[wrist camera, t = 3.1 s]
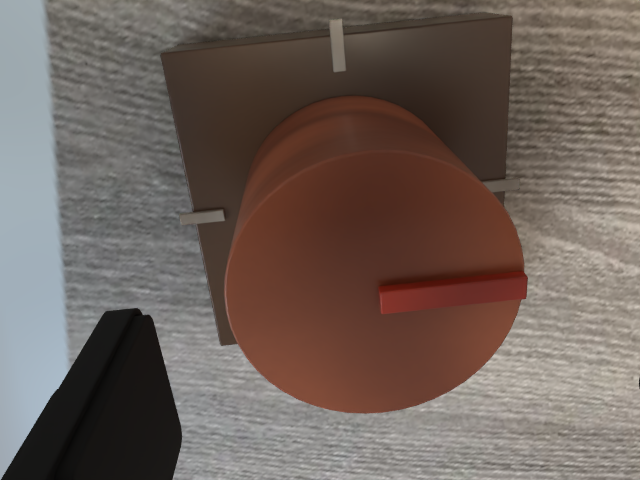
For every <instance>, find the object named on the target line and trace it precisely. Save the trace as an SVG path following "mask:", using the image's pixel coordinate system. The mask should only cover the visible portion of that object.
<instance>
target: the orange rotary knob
mask: <svg viewBox="0 0 640 480" xmlns="http://www.w3.org/2000/svg"><path fill="white" fill-rule="evenodd" d="M527 281H528V277H527V276H526V274H525V273H524V259H523V253H522V246H521V243H520V240H519V237H518V234H517V230H516V228H515V226H514V224H513V222H512V220H511V218H510V216H509V214H508V212H507V211H506V209H505V208H504V207H503V205H502V204H501V203H500V201H499V200H498V198H497V197H496V196H495V195H494V194H493V193H492V192H491V191H490V190H489V189H488V188H487V187H486V186H485V185H484V184H483V183H482V182H481V181H480V180H479V179H478V178H477V177H476V176H475V175H474V174H473V173H472V172H471V171H470V169H469V168H468V167H467V166H466V165H465V164H464V163H463V162H462V161H461V160H460V159H459V158H458V157H457V156H456V155H455V154H454V153H453V152H452V151H451V150H450V149H449V148H448V147H447V146H446V145H445V144H444V143H443V142H442V141H441V140H440V139H439V138H438V137H437V136H436V135H435V134H434V133H433V132H432V130H431V129H430V128H429V127H428V126H427V125H426V124H425V123H424V122H423V121H422V120H420V119H419V118H418V117H416V116H415V115H414V114H412V113H411V112H409V111H407V110H406V109H404V108H402V107H400V106H398V105H396V104H393V103H391V102H388V101H385V100H381V99H377V98H373V97H365V96H341V97H335V98H329V99H325V100H322V101H319V102H315V103H313V104H310V105H308V106H306V107H304V108H302V109H300V110H298V111H296V112H295V113H293V114H292V115H290V116H289V117H287V118H286V119H285V120H284V121H282V122H281V123H280V124H279V125H278V126H276V128H275V129H274V130H273V131H272V132H271V133H270V134H269V135H268V136H267V137H266V139H265V140H264V142H263V143H262V145H261V146H260V148H259V149H258V151H257V153H256V155H255V157H254V159H253V161H252V164H251V167H250V170H249V173H248V177H247V181H246V185H245V189H244V194H243V198H242V202H241V206H240V210H239V215H238V219H237V223H236V227H235V231H234V236H233V240H232V244H231V248H230V252H229V257H228V261H227V267H226V272H225V279H224V299H225V307H226V313H227V317H228V321H229V324H230V328H231V330H232V332H233V335H234V337H235V339H236V341H237V343H238V345H239V347H240V348H241V350H242V351H243V353H244V355H245V356H246V358H247V359H248V360H249V361H250V363H251V364H252V365H253V366H254V367H255V369H256V370H257V371H258V372H259V373H260V374H261V375H263V376H264V377H265V378H266V379H267V380H268V381H269V382H270V383H272V384H273V385H275V386H276V387H278V388H279V389H280V390H282V391H283V392H285V393H287V394H289V395H291V396H293V397H295V398H296V399H298V400H301V401H304V402H306V403H309V404H311V405H314V406H317V407H321V408H325V409H329V410H334V411H340V412H347V413H383V412H389V411H395V410H401V409H405V408H409V407H412V406H416V405H419V404H422V403H425V402H427V401H430V400H432V399H435V398H437V397H439V396H441V395H443V394H445V393H447V392H449V391H451V390H452V389H454V388H455V387H457V386H458V385H460V384H462V383H463V382H465V381H466V380H467V379H468V378H470V377H471V376H472V375H473V374H475V373H476V372H477V371H478V370H479V369H480V368H481V367H482V366H483V365H484V364H485V363H486V362H487V361H488V360H489V359H490V358H491V357H492V356H493V354H494V353H495V352H496V351H497V349H498V348H499V347H500V346H501V344H502V343H503V341H504V339H505V338H506V336H507V334H508V333H509V331H510V329H511V327H512V325H513V322H514V320H515V318H516V316H517V313H518V309H519V306H520V302H521V299H526V295H527Z"/></svg>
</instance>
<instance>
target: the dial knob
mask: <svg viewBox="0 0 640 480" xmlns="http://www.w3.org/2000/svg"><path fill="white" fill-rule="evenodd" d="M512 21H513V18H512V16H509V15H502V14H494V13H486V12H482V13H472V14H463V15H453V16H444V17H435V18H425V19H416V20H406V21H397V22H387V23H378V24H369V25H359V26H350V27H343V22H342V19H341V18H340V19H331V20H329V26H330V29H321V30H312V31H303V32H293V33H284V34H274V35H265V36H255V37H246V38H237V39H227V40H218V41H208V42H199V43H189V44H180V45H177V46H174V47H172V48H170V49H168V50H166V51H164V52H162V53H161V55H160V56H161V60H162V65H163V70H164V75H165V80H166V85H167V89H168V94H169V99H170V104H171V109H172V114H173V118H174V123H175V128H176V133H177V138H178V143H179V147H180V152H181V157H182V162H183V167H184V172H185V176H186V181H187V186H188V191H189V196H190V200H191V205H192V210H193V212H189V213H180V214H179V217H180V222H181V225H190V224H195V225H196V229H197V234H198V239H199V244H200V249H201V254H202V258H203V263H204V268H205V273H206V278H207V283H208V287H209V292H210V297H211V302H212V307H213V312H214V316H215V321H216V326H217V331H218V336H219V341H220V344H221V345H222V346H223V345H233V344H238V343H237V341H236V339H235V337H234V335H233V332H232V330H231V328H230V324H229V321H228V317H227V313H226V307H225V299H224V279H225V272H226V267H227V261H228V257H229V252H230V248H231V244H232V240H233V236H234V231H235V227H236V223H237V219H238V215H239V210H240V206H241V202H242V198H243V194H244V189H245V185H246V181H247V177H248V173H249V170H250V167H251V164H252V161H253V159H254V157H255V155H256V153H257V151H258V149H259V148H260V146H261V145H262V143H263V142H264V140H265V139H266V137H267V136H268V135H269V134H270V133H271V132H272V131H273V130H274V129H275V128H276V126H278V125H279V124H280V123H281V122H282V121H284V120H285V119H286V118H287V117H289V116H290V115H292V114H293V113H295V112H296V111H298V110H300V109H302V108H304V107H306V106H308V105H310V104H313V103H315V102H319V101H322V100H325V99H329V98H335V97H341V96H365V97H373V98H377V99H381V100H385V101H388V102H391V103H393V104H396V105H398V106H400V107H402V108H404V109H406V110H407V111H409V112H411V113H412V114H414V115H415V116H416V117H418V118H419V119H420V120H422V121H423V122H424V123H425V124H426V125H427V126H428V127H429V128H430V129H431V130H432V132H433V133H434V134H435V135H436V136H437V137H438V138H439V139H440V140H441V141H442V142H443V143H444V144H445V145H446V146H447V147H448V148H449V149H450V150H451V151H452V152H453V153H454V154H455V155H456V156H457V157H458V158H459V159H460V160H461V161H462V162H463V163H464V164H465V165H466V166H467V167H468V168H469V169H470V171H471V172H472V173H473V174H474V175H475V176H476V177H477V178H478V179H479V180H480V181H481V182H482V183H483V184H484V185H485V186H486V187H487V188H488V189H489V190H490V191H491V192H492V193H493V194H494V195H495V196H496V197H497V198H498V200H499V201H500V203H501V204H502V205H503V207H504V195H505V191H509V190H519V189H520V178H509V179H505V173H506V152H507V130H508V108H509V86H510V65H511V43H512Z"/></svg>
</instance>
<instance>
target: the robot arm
mask: <svg viewBox="0 0 640 480" xmlns="http://www.w3.org/2000/svg"><path fill="white" fill-rule="evenodd" d="M639 387H640V379H639ZM181 442H182V431H181V425H180V421H179V417H178V413H177V409H176V406H175V402H174V398H173V394H172V390H171V387H170V383H169V379H168V375H167V371H166V367H165V364H164V360H163V356H162V352H161V348H160V345H159V341H158V337H157V333H156V329H155V326H154V322H153V319H152V317H151V316H150V315H142V312H141V311H140V310H139V309H138V308H133V309H123V310H113V311H106V312H105V313H104V314H103V315H102V317H101V319H100V320H99V322H98V324H97V325H96V327H95V329H94V330H93V332H92V334H91V335H90V337H89V339H88V340H87V342H86V344H85V345H84V347H83V349H82V350H81V352H80V354H79V355H78V357H77V359H76V360H75V362H74V364H73V365H72V367H71V369H70V370H69V372H68V374H67V375H66V377H65V379H64V380H63V382H62V384H61V385H60V387H59V389H57V390H56V391H55V393H54V394H53V395H52V396H51V398H50V400H49V401H48V403H47V405H46V406H45V408H44V410H43V411H42V413H41V414H40V416H39V418H38V419H37V421H36V423H35V424H34V426H33V428H32V429H31V431H30V433H29V434H28V436H27V438H26V439H25V441H24V443H23V444H22V446H21V447H20V449H19V451H18V452H17V454H16V456H15V457H14V459H13V461H12V463H11V464H10V466H9V467H8V469H7V471H6V472H5V474H4V475H3V477H2V479H1V480H172V479H173V475H174V471H175V467H176V463H177V460H178V456H179V452H180V448H181Z"/></svg>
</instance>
